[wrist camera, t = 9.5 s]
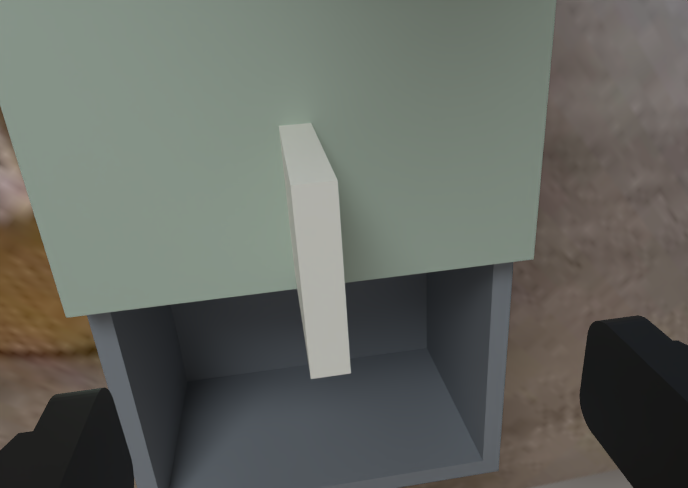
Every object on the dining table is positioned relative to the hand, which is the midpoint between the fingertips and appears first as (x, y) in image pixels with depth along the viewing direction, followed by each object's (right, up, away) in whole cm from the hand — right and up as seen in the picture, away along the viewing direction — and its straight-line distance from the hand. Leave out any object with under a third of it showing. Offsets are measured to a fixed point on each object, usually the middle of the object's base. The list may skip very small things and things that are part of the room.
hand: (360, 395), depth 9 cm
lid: (-2, +9, +7) cm, 12 cm away
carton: (-3, +2, +22) cm, 22 cm away
